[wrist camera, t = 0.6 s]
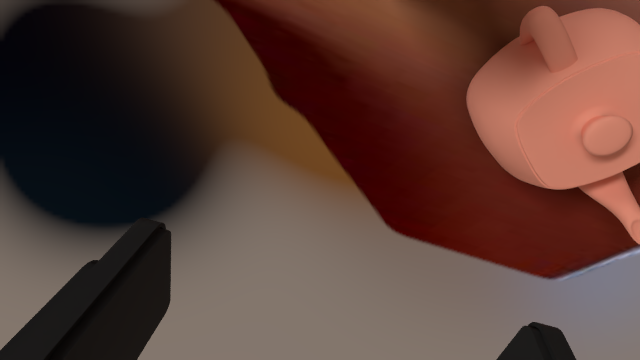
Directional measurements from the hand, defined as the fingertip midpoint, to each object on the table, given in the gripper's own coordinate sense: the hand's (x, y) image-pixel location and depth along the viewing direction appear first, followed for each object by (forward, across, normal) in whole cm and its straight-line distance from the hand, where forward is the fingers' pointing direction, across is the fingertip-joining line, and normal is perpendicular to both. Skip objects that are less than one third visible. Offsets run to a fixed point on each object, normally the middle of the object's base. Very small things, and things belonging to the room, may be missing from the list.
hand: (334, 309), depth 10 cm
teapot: (+30, -17, -1) cm, 35 cm away
